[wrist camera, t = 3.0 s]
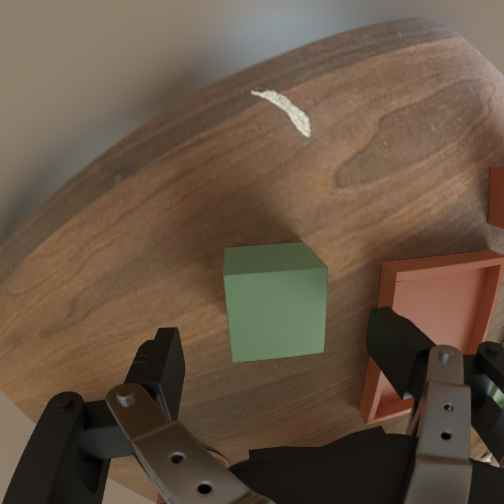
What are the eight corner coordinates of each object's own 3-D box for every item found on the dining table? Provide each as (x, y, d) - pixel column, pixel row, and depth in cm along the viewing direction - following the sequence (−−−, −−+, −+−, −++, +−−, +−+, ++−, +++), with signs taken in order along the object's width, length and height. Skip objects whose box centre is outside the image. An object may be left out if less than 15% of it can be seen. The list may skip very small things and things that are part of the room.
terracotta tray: (381, 261, 18) (396, 272, 16) (490, 249, 18) (506, 256, 16) (358, 410, 21) (365, 425, 19) (456, 378, 22) (466, 390, 20)
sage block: (224, 247, 17) (222, 275, 12) (304, 241, 17) (328, 266, 13) (230, 318, 18) (232, 362, 14) (303, 312, 18) (323, 352, 14)
